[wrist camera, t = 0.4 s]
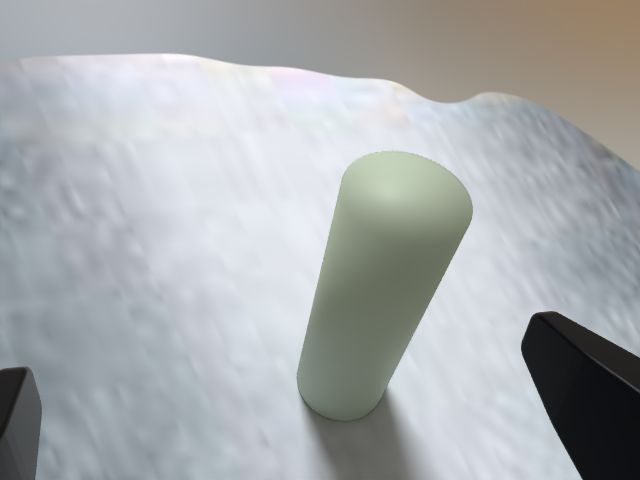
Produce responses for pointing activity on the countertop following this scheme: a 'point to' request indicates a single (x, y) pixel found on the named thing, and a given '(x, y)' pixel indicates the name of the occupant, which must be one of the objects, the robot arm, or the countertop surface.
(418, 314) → the post
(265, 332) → the countertop surface
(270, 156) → the countertop surface
